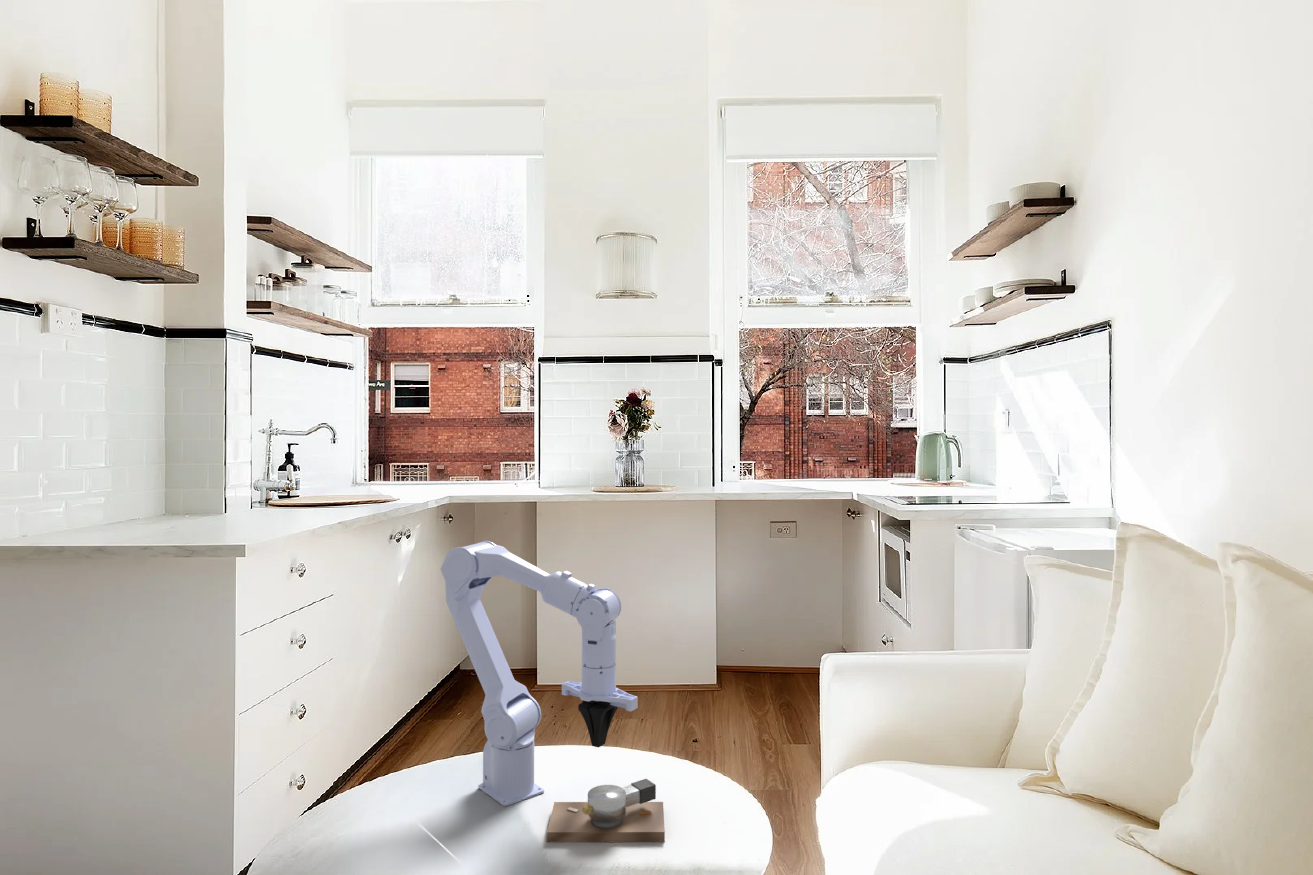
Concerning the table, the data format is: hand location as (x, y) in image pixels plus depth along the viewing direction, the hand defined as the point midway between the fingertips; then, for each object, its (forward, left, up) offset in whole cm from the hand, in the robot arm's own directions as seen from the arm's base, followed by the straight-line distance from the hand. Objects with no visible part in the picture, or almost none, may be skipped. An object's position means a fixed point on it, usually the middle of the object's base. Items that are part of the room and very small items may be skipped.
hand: (598, 744), depth 128 cm
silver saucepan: (+7, -1, -8) cm, 11 cm away
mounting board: (+6, -3, -10) cm, 12 cm away
